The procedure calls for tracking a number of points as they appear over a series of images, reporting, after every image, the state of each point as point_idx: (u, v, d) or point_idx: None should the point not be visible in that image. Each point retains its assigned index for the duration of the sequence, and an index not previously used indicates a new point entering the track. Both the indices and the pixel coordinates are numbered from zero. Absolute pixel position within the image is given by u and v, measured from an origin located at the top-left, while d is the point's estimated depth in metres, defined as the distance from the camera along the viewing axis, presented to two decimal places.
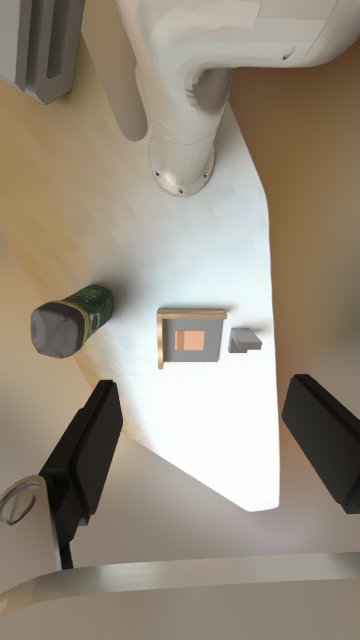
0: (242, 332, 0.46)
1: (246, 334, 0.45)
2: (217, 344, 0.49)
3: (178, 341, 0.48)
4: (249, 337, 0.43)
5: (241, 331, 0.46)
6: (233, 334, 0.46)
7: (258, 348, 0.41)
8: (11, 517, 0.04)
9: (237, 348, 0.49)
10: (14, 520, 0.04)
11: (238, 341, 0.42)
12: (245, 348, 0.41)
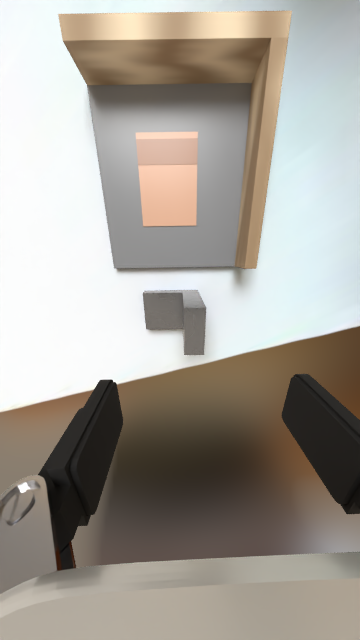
0: None
1: None
2: (161, 262, 0.21)
3: (164, 144, 0.17)
4: None
5: None
6: (194, 294, 0.21)
7: (186, 349, 0.17)
8: (11, 517, 0.04)
9: (155, 308, 0.23)
10: (14, 520, 0.04)
11: (196, 302, 0.17)
12: (187, 321, 0.16)
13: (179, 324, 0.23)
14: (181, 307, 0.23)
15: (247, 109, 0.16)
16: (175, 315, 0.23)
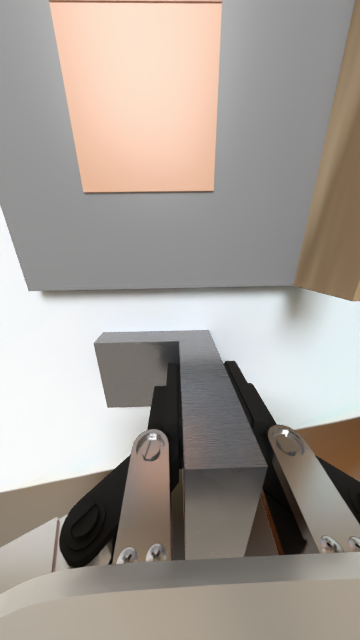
0: None
1: None
2: (133, 278, 0.09)
3: None
4: None
5: None
6: (205, 352, 0.09)
7: (191, 552, 0.06)
8: (145, 454, 0.06)
9: (123, 372, 0.11)
10: (146, 457, 0.06)
11: (221, 408, 0.06)
12: (195, 498, 0.05)
13: None
14: None
15: None
16: (165, 383, 0.11)
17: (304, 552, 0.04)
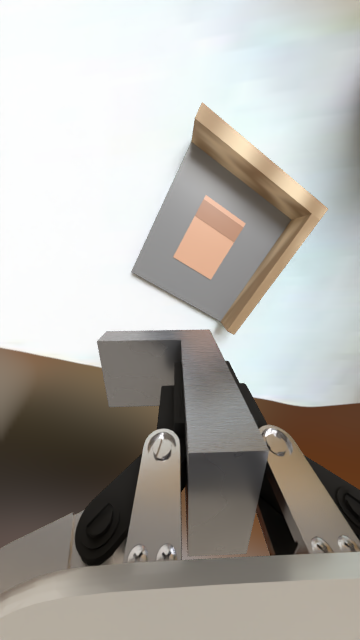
0: None
1: None
2: (170, 289, 0.24)
3: (220, 215, 0.21)
4: None
5: None
6: (207, 349, 0.09)
7: (193, 546, 0.06)
8: (156, 453, 0.06)
9: (125, 370, 0.11)
10: (157, 456, 0.06)
11: (223, 399, 0.06)
12: (198, 485, 0.05)
13: None
14: None
15: (281, 232, 0.22)
16: (166, 382, 0.11)
17: (295, 555, 0.04)
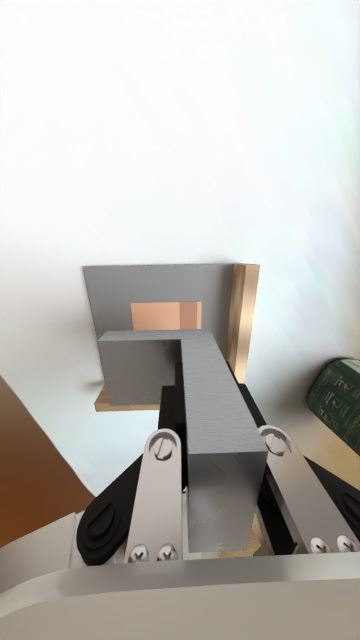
0: None
1: None
2: (98, 319, 0.20)
3: (193, 324, 0.21)
4: None
5: None
6: (206, 349, 0.09)
7: (194, 543, 0.06)
8: (157, 453, 0.06)
9: (125, 370, 0.11)
10: (158, 456, 0.06)
11: (223, 399, 0.06)
12: (198, 485, 0.05)
13: None
14: None
15: None
16: (167, 381, 0.11)
17: None
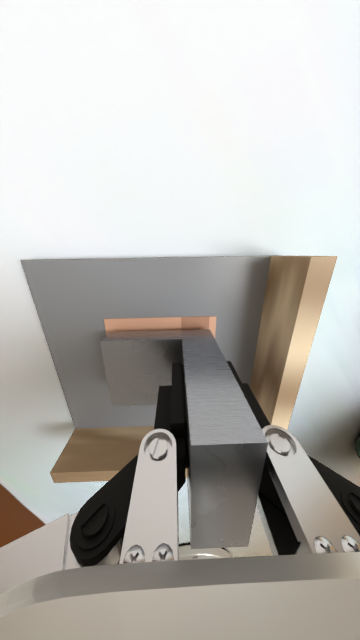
0: None
1: None
2: (54, 342, 0.13)
3: None
4: None
5: None
6: (207, 348, 0.09)
7: (196, 538, 0.06)
8: (152, 453, 0.06)
9: (127, 370, 0.11)
10: (153, 456, 0.06)
11: (224, 395, 0.06)
12: (200, 477, 0.05)
13: None
14: None
15: None
16: (168, 381, 0.12)
17: (298, 554, 0.04)
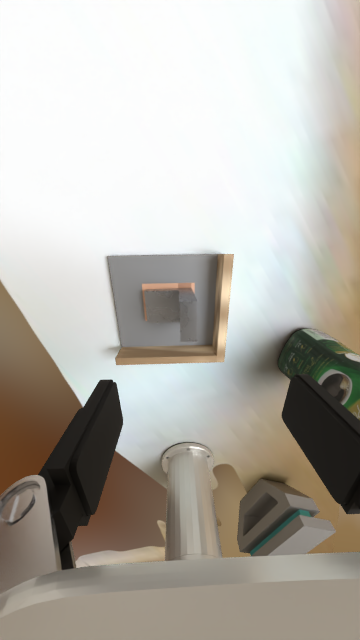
0: None
1: None
2: (117, 296, 0.27)
3: None
4: None
5: None
6: (188, 291, 0.24)
7: (182, 337, 0.21)
8: (11, 517, 0.04)
9: (155, 304, 0.26)
10: (14, 520, 0.04)
11: (190, 297, 0.21)
12: (182, 312, 0.19)
13: (176, 318, 0.27)
14: (178, 302, 0.26)
15: (202, 344, 0.30)
16: (172, 310, 0.26)
17: None
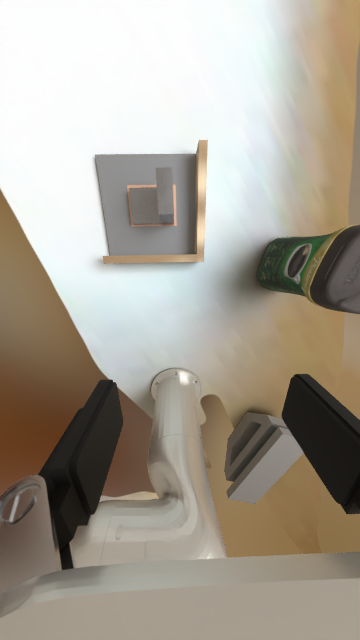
0: (173, 202, 0.27)
1: None
2: (104, 198, 0.29)
3: None
4: None
5: (173, 202, 0.28)
6: None
7: (159, 209, 0.23)
8: (11, 517, 0.04)
9: (139, 203, 0.28)
10: (14, 520, 0.04)
11: None
12: (158, 180, 0.22)
13: (159, 218, 0.29)
14: None
15: (185, 253, 0.32)
16: (155, 209, 0.28)
17: None
